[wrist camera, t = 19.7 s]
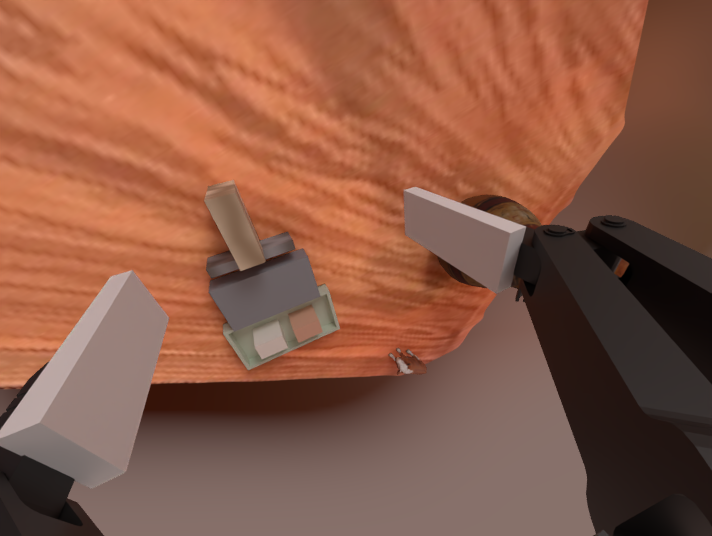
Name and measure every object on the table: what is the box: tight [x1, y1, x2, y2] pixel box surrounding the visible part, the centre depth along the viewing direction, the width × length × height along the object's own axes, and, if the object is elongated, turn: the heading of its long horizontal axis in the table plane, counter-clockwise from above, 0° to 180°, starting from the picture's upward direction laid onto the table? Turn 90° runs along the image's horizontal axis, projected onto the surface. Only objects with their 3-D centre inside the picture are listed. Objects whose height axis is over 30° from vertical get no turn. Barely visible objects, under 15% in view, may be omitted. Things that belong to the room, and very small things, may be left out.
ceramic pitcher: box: [438, 195, 629, 289], centre depth 49 cm, size 20×20×30 cm
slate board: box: [209, 248, 320, 332], centre depth 45 cm, size 16×9×4 cm, turn 100°
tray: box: [223, 284, 340, 370], centre depth 51 cm, size 20×11×2 cm, turn 100°
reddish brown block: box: [288, 304, 323, 342], centre depth 50 cm, size 5×5×4 cm
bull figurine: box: [389, 348, 426, 375], centre depth 70 cm, size 4×13×8 cm, turn 50°
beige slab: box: [204, 180, 295, 278], centre depth 36 cm, size 13×12×8 cm
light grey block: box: [252, 319, 288, 359], centre depth 48 cm, size 5×5×4 cm
